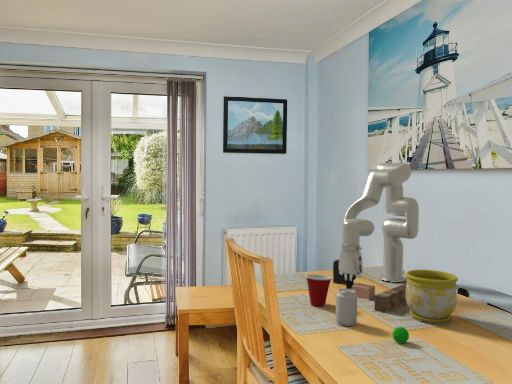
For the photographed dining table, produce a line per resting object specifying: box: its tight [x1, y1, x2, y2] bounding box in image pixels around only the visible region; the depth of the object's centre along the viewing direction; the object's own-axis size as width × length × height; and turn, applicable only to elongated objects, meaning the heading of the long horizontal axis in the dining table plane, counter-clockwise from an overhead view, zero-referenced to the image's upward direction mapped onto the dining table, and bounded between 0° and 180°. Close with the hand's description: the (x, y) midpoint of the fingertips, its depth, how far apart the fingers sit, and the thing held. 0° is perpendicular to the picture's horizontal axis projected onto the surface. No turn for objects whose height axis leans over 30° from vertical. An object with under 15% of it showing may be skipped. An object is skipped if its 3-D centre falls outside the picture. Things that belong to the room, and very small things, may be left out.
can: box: [334, 288, 358, 327], centre depth 157 cm, size 8×8×12 cm
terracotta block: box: [352, 282, 376, 300], centre depth 192 cm, size 6×8×5 cm
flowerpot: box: [405, 269, 459, 324], centre depth 164 cm, size 18×18×16 cm
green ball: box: [392, 326, 410, 344], centre depth 140 cm, size 5×5×5 cm
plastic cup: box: [304, 273, 333, 308], centre depth 179 cm, size 11×11×12 cm
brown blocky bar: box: [374, 282, 407, 313], centre depth 181 cm, size 28×4×6 cm, turn 137°
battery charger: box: [332, 258, 346, 284], centre depth 216 cm, size 7×4×11 cm, turn 83°
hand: (349, 288), depth 196 cm, fingers closed
